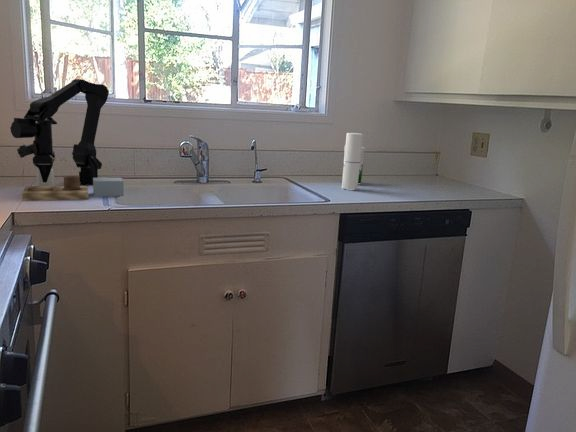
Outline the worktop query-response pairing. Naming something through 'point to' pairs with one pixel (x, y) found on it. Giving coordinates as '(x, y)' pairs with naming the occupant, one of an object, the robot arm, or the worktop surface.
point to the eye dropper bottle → (49, 182)
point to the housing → (108, 187)
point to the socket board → (53, 193)
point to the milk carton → (360, 163)
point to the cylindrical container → (352, 160)
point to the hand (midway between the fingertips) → (45, 180)
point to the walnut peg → (71, 183)
